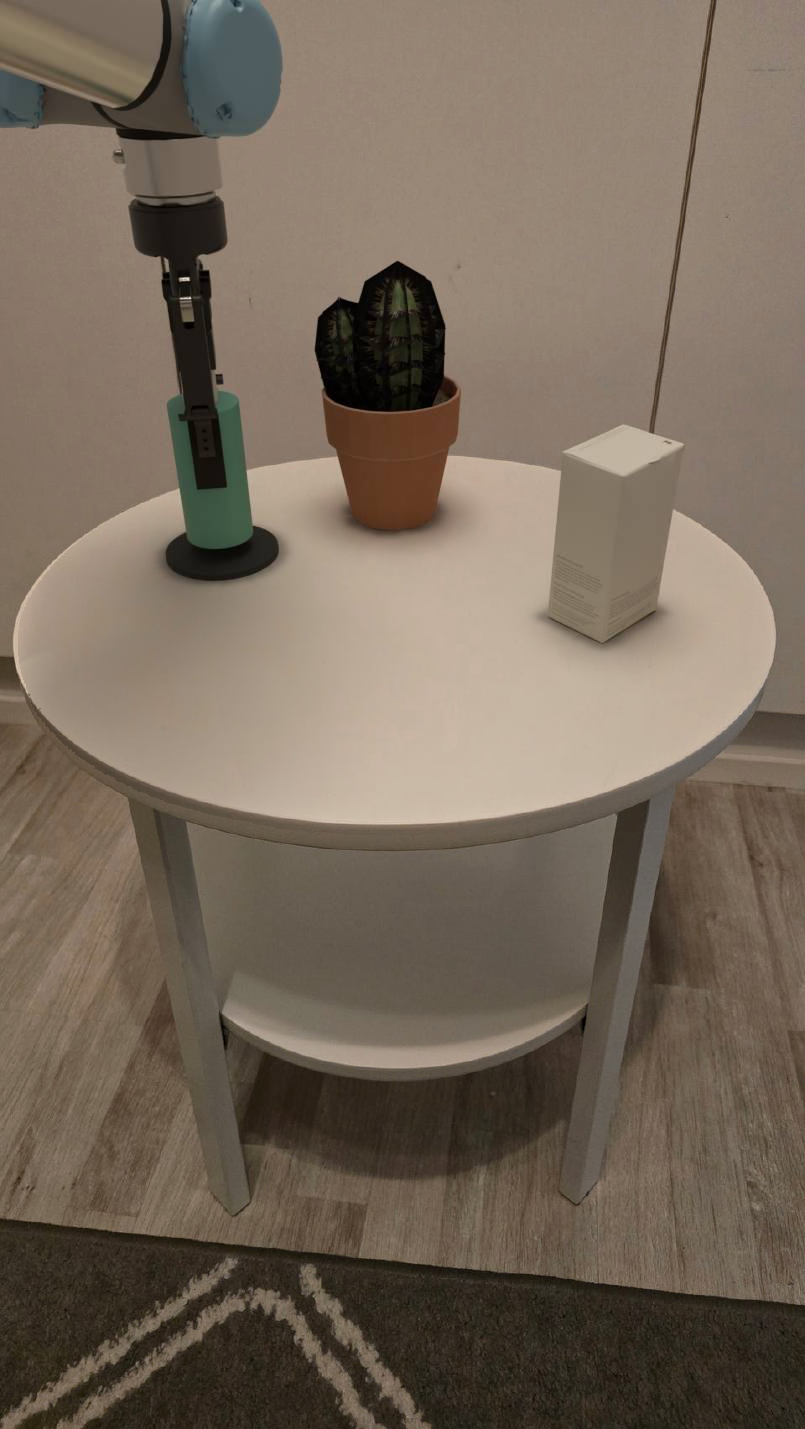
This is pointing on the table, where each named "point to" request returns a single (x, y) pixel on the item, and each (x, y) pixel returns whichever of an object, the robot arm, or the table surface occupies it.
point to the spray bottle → (225, 510)
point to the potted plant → (388, 397)
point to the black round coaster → (222, 557)
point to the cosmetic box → (612, 530)
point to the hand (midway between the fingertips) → (211, 471)
